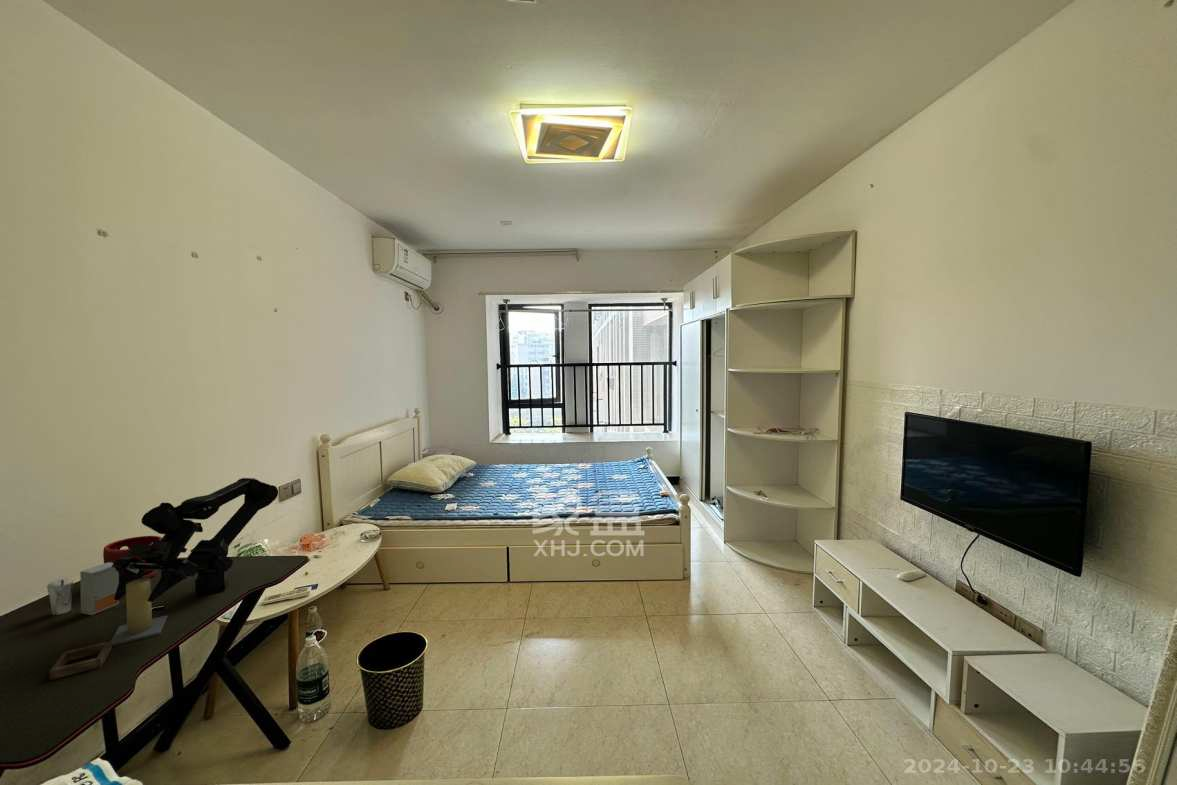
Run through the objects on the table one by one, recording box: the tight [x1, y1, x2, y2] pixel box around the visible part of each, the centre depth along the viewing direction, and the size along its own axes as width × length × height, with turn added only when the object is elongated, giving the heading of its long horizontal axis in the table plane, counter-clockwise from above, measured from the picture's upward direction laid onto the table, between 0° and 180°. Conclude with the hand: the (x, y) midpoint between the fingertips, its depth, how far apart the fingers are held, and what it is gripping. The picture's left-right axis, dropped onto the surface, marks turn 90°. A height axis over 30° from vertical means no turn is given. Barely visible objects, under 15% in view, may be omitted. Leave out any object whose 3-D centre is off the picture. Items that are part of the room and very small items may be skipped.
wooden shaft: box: [125, 577, 153, 634], centre depth 110 cm, size 4×4×12 cm
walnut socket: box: [48, 640, 113, 681], centre depth 98 cm, size 8×8×2 cm
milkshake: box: [46, 577, 74, 616], centre depth 118 cm, size 4×5×10 cm
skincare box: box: [79, 562, 120, 616], centre depth 120 cm, size 6×4×12 cm
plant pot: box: [102, 535, 163, 579], centre depth 137 cm, size 13×13×12 cm
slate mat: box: [110, 615, 168, 647], centre depth 111 cm, size 9×9×1 cm
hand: (132, 600), depth 109 cm, fingers open, 8 cm apart
